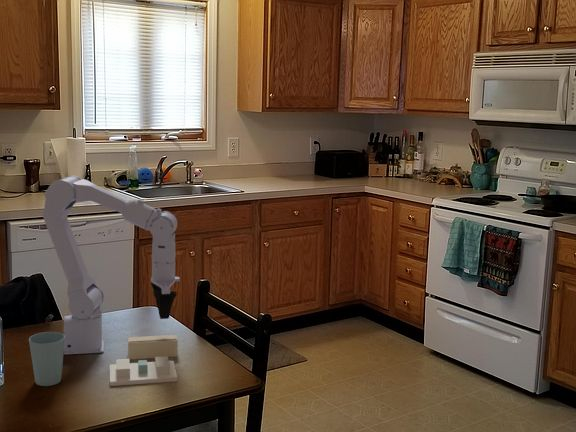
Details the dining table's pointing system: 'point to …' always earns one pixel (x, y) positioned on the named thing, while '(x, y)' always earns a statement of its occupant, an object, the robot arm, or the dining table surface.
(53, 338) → the cup
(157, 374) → the display stand
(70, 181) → the robot arm
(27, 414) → the dining table surface
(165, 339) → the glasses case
